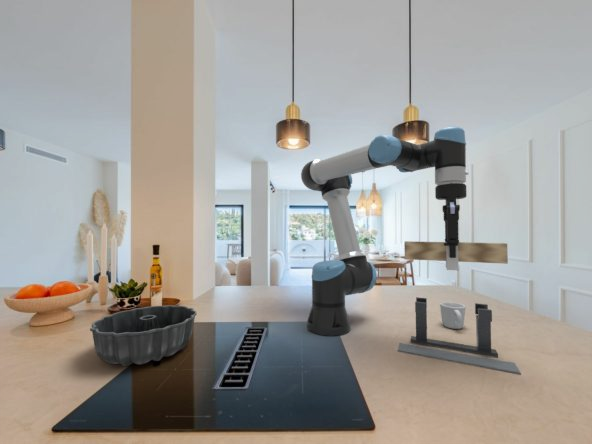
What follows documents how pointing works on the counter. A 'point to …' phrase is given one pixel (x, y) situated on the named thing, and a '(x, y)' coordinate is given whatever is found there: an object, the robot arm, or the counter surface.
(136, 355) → the bundt pan
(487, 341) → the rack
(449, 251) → the robot arm
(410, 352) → the grey base plate
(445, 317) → the cup
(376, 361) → the counter surface
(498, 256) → the rail
